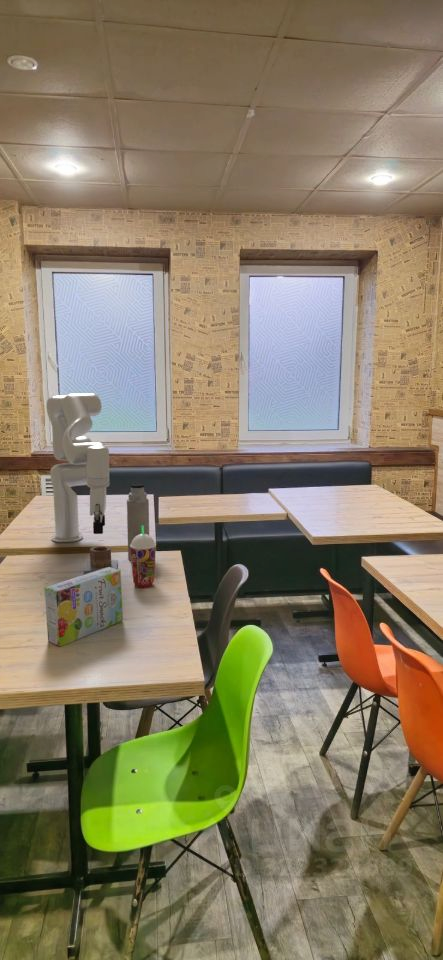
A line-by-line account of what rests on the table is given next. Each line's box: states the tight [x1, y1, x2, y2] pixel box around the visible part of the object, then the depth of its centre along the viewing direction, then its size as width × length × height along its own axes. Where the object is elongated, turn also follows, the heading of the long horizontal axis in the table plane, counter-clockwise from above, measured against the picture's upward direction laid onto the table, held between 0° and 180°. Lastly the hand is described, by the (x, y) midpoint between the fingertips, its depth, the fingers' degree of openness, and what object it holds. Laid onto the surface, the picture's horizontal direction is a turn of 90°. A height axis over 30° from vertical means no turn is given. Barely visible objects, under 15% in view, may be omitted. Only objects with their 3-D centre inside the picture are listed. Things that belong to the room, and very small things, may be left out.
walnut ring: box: [89, 545, 112, 569], centre depth 212 cm, size 7×7×6 cm
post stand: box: [83, 559, 119, 575], centre depth 212 cm, size 11×11×6 cm
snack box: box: [44, 567, 124, 648], centre depth 161 cm, size 21×6×15 cm, turn 141°
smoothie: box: [130, 526, 157, 589], centre depth 195 cm, size 8×8×20 cm
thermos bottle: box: [126, 483, 150, 561], centre depth 223 cm, size 8×8×28 cm
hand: (99, 529), depth 211 cm, fingers open, 9 cm apart
